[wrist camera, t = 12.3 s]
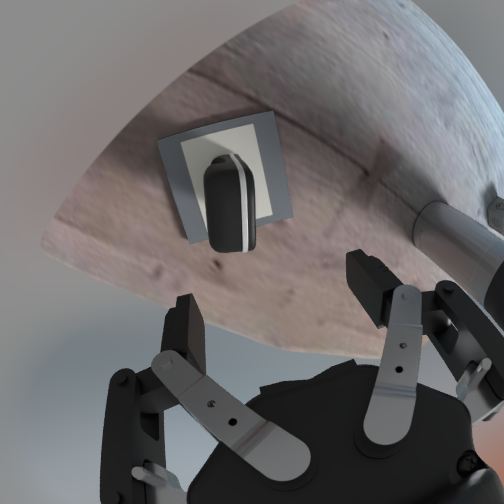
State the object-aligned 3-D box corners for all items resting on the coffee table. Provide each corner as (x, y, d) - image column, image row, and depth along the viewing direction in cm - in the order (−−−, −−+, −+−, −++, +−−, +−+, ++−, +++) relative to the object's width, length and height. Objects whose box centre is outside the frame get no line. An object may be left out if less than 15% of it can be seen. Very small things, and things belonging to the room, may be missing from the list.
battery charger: (203, 153, 28) (200, 175, 18) (238, 151, 28) (256, 172, 18) (208, 213, 31) (208, 264, 21) (240, 210, 32) (257, 260, 22)
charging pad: (271, 110, 28) (273, 110, 27) (291, 214, 34) (293, 217, 33) (157, 140, 27) (156, 141, 26) (190, 240, 34) (189, 244, 33)
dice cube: (499, 213, 41) (514, 223, 37) (488, 225, 42) (503, 236, 37) (497, 196, 39) (514, 204, 34) (487, 208, 39) (503, 217, 35)
